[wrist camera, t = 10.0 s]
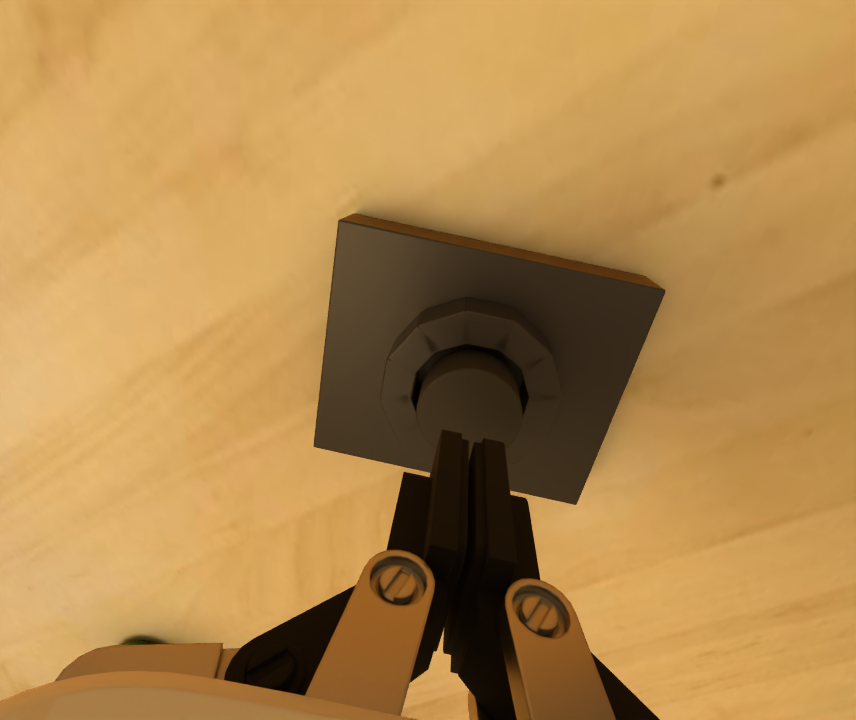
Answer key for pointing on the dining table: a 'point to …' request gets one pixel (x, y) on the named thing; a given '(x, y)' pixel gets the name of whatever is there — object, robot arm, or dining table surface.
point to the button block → (476, 345)
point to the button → (469, 399)
